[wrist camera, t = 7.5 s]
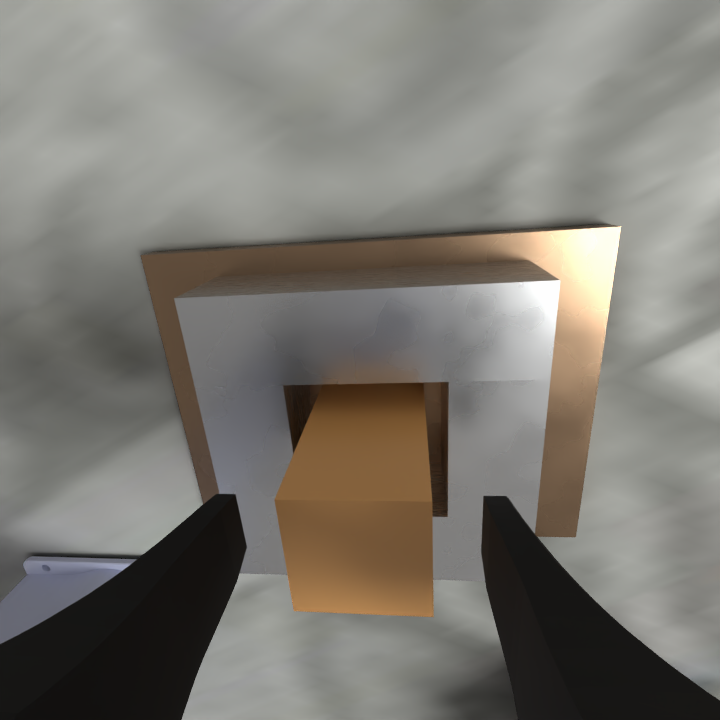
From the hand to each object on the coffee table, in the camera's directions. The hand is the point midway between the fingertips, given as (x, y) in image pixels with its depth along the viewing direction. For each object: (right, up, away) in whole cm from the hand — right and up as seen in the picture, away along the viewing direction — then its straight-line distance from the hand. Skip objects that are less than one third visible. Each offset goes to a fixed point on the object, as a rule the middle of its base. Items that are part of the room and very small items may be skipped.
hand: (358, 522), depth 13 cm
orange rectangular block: (+1, +2, +6) cm, 7 cm away
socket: (+1, +3, +7) cm, 8 cm away
